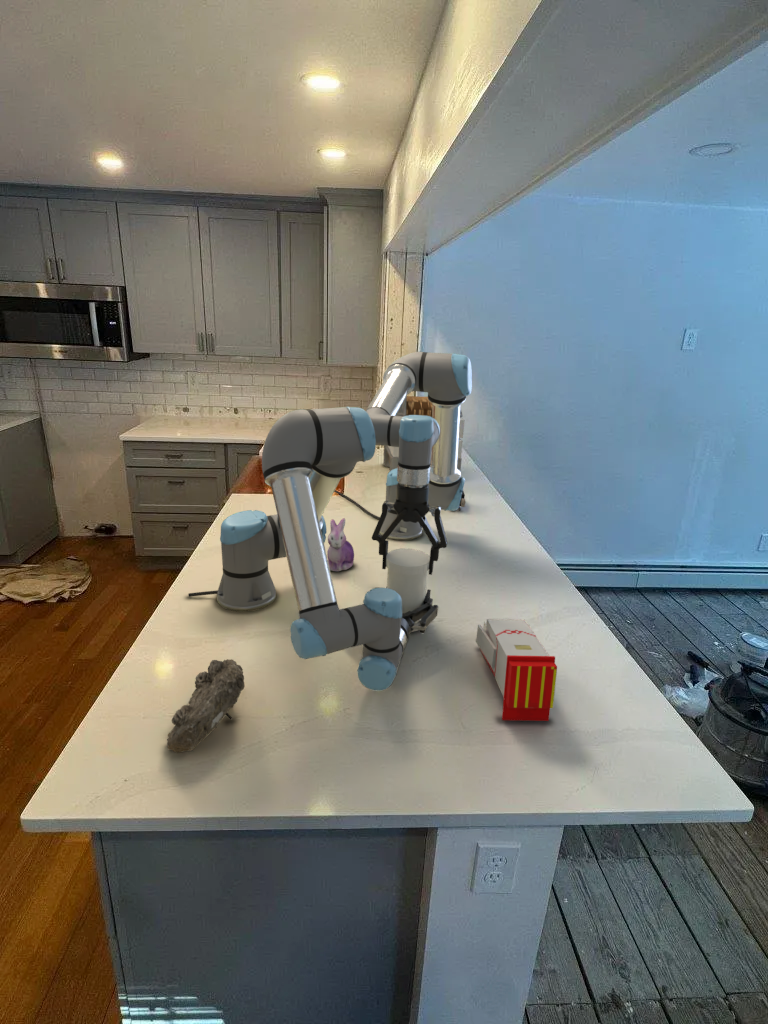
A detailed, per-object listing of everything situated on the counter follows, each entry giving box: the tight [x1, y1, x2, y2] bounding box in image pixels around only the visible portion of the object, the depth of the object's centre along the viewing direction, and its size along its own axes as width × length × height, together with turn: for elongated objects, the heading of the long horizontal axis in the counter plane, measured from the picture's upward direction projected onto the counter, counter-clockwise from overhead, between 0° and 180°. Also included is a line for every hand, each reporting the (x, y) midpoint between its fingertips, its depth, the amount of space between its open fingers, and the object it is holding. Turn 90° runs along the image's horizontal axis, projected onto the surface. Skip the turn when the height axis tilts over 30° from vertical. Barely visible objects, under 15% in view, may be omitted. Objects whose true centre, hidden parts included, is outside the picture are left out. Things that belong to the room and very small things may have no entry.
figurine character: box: [457, 490, 466, 511], centre depth 229 cm, size 7×8×15 cm
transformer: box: [383, 395, 465, 472], centre depth 268 cm, size 34×33×41 cm
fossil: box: [166, 658, 245, 754], centre depth 106 cm, size 22×10×15 cm
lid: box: [386, 547, 430, 575], centre depth 138 cm, size 11×11×2 cm
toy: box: [475, 618, 558, 722], centre depth 122 cm, size 12×13×30 cm
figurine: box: [326, 517, 355, 572], centre depth 171 cm, size 9×10×15 cm
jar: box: [386, 568, 428, 633], centre depth 141 cm, size 10×10×18 cm
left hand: (408, 591), depth 146 cm, fingers closed on jar, 10 cm apart
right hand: (407, 569), depth 139 cm, fingers closed on lid, 11 cm apart
